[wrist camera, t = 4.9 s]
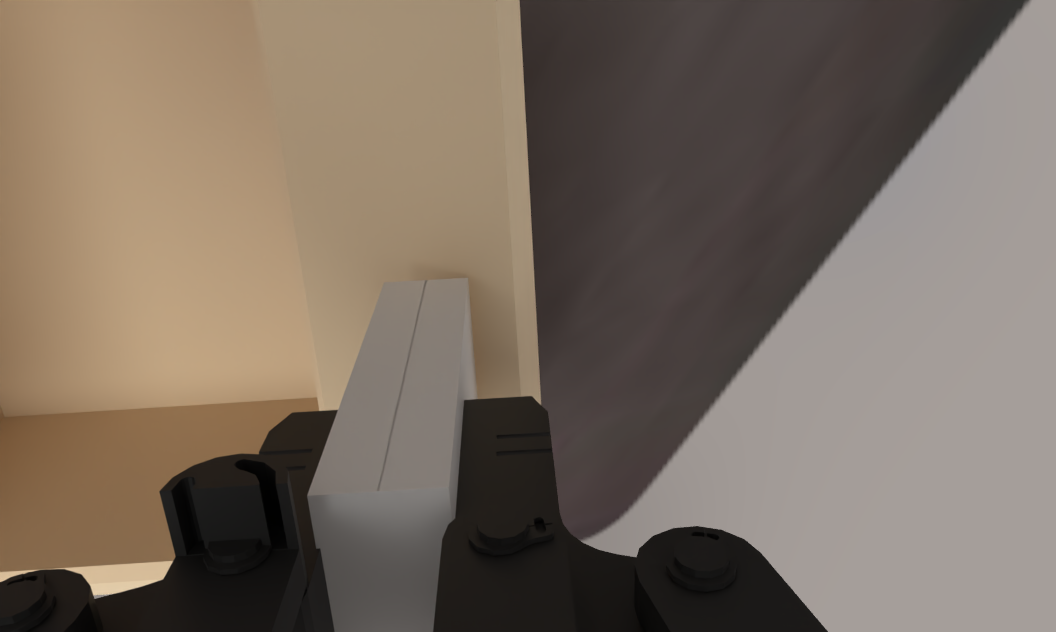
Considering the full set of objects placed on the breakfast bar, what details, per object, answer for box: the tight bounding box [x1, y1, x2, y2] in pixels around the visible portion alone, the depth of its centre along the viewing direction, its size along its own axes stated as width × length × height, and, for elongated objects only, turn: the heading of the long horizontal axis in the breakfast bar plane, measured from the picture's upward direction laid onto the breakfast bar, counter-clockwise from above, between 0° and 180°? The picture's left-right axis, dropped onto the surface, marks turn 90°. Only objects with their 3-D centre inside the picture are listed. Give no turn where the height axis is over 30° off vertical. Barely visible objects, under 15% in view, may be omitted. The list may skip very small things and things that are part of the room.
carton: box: [0, 0, 325, 595], centre depth 25 cm, size 19×16×10 cm
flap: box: [257, 0, 541, 411], centre depth 17 cm, size 16×1×7 cm
